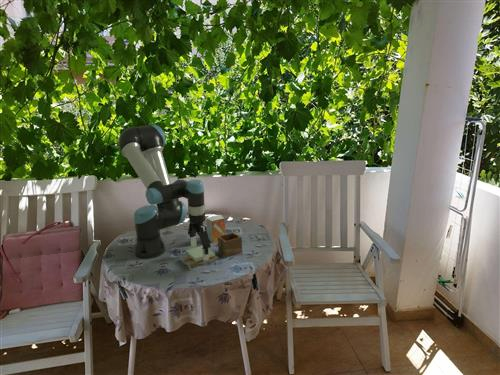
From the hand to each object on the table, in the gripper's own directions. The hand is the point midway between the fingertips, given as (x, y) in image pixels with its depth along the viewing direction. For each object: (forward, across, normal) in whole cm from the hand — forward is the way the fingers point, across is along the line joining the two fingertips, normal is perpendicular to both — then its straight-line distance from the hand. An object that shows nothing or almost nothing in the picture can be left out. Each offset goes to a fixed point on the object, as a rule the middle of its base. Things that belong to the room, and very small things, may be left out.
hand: (199, 254), depth 186 cm
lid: (0, 0, 0) cm, 0 cm away
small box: (+3, +16, -17) cm, 23 cm away
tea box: (+3, -3, -15) cm, 16 cm away
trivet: (+3, 0, 0) cm, 3 cm away
